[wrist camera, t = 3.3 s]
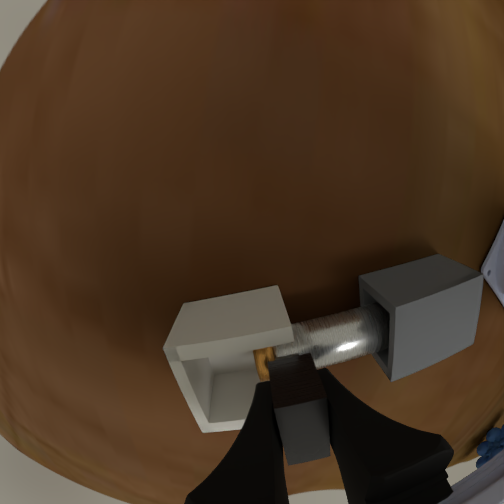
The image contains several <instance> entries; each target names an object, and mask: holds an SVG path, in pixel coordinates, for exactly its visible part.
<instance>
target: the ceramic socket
mask: <svg viewBox="0 0 504 504" xmlns="http://www.w3.org/2000/svg"><path fill="white" fill-rule="evenodd" d="M290 342H294V337H293V331H292V326H291V323H290V320H289V317H288V314H287V311H286V308H285V305H284V302H283V299H282V296H281V293H280V290H279V287H278V285H275V286H270V287H266V288H261V289H256V290H251V291H246V292H241V293H236V294H231V295H226V296H221V297H215V298H210V299H205V300H199V301H194V302H188V303H183V305H182V308H181V310H180V312H179V314H178V316H177V318H176V320H175V323H174V325H173V327H172V329H171V331H170V333H169V336H168V338H167V340H166V342H165V344H164V347H163V350H164V352H165V355H166V357H167V359H168V362H169V364H170V366H171V369H172V371H173V373H174V376H175V378H176V380H177V382H178V384H179V387H180V389H181V391H182V393H183V395H184V397H185V399H186V401H187V403H188V405H189V407H190V409H191V411H192V413H193V415H194V417H195V419H196V421H197V423H198V425H199V427H200V429H201V431H202V432H203V433H206V432H218V431H229V430H237V429H241V428H242V426H243V424H244V422H245V420H246V417H247V415H248V412H249V409H250V407H251V404H252V400H253V397H254V393H255V387H256V384H257V383H259V382H260V379H259V376H258V373H257V369H256V364H255V360H254V355H253V350H256V349H261V348H266V347H271V346H276V345H281V344H286V343H290ZM269 381H270V380H269ZM264 382H265V381H264Z"/></svg>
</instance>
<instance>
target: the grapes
mask: <svg viewBox="0 0 504 504" xmlns="http://www.w3.org/2000/svg"><path fill="white" fill-rule="evenodd" d="M486 440H487V441H484V442H482V443H481V444H479V445H478V447H477V453H478V455H480V456H482V457H480V458H479V459H478V460H477V462H476V467H477V469H478V468H480V467H481V466H482V465H484V464H485V463H486V462H488V461H489V460H490V459H492V458H493V457H494V456H496V455H497V454H498V453H499V452H501V451H502V450H503V449H504V425H503V426H502V428H501V429H500V428H497V427H495V428H492V429H491V430H490V431H488V433H487V435H486Z"/></svg>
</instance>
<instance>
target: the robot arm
mask: <svg viewBox="0 0 504 504" xmlns="http://www.w3.org/2000/svg"><path fill="white" fill-rule="evenodd" d="M481 273H483V274H484V278H485V279H486V281H487V282H488V284H489V285H490V287H491V288H492V290H493V291H494V293H495V294H496V296H497V297H498V299H499V300H500V302H501V303H502V305H503V307H504V220H503V223H502V225H501V227H500V230H499V232H498V234H497V236H496V239H495V241H494V243H493V245H492V247H491V249H490V251H489V253H488V255H487V257H486V259H485V261H484V263H483V265H482V267H481ZM317 371H318V374H319V376H320V379H321V382H322V384H323V387H324V389H325V392H326V395H327V399H328V415H329V435H330V444H331V446H332V449H333V451H334V454H335V456H336V459H337V462H338V465H339V469H340V472H341V476H342V480H343V483H344V487H345V491H346V495H347V499H348V503H349V504H502V503H504V449H503V450H502V451H501V452H499V453H498V454H497V455H496V456H494V457H493V458H492V459H490V460H489V461H488V462H486V463H485V464H484V465H482V466H481V467H480V468H478V469H477V470H475V471H474V472H472V473H471V474H470V475H468V476H466V477H465V478H463V479H462V480H461V481H459V482H457V483H456V484H454V485H453V486H450V484H449V483H448V481H447V478H448V474H447V473H446V471H445V469H446V468H447V466H448V464H449V463H450V461H451V459H452V457H453V455H454V450H453V449H452V448H451V446H450V445H449V443H448V442H447V441H446V440H445V439H444V438H443V437H442V436H441V435H439V434H434V433H429V432H425V431H421V430H417V429H414V428H411V427H408V426H406V425H404V424H401V423H399V422H396V421H394V420H392V419H390V418H388V417H386V416H384V415H382V414H380V413H379V412H377V411H375V410H374V409H372V408H371V407H369V406H368V405H366V404H365V403H364V402H362V401H361V400H360V399H358V398H357V397H356V396H354V395H353V394H352V393H351V392H350V391H349V390H348V389H346V388H345V387H344V386H343V385H342V384H341V383H340V382H339V381H338V380H337V379H336V378H335V377H334V376H333V375H332V374H331V372H330V371H329V370H328V369H326V368H323V369H319V370H317ZM184 504H289V500H288V493H287V487H286V481H285V475H284V463H283V443H282V439H281V435H280V432H279V428H278V424H277V420H276V416H275V412H274V407H273V400H272V393H271V386H270V381H265V382H259V383H257V384H256V387H255V393H254V397H253V400H252V404H251V407H250V409H249V412H248V415H247V417H246V420H245V422H244V424H243V426H242V428H241V431H240V433H239V434H238V436H237V438H236V440H235V442H234V443H233V445H232V447H231V448H230V450H229V451H228V453H227V454H226V455H225V457H224V458H223V460H222V461H221V462H220V463H219V465H218V466H217V467H216V468H215V469H214V470H213V471H212V473H211V474H210V475H209V476H208V477H207V478H206V479H205V480H204V481H203V482H202V483H201V484H200V485H198V486H197V487H196V488H195V489H194V490H193V491H192V492H190V493H189V494H188V495H187V498H186V500H185V503H184Z"/></svg>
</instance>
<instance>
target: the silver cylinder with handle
mask: <svg viewBox="0 0 504 504" xmlns="http://www.w3.org/2000/svg"><path fill="white" fill-rule="evenodd" d="M291 326H292V331H293V337H294V342H290V343H286V344H281V345H276V346H271V347H266V348H261V349H256V350H253V355H254V360H255V364H256V369H257V373H258V376H259V379H260V382H264V381H269V380H270V386H271V393H272V400H273V407H274V412H275V416H276V420H277V424H278V428H279V432H280V435H281V439H282V443H283V447H284V451H285V455H286V458H287V462H288V465H293V464H298V463H303V462H308V461H312V460H316V459H321V458H325V457H328V456H330V435H329V415H328V399H327V395H326V392H325V389H324V387H323V384H322V382H321V379H320V376H319V374H318V371H317V369H319V368H323V367H327V366H331V365H334V364H338V363H341V362H345V361H348V360H352V359H355V358H358V357H362V356H365V355H368V354H371V353H374V352H377V351H380V350H383V349H386V348H389V332H390V313H389V312H388V311H387V310H386V309H385V308H384V307H383V306H382V305H381V304H380V303H378V302H375V303H372V304H369V305H365V306H362V307H358V308H354V309H351V310H347V311H343V312H339V313H336V314H332V315H328V316H324V317H320V318H316V319H311V320H307V321H303V322H299V323H294V324H291Z"/></svg>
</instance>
